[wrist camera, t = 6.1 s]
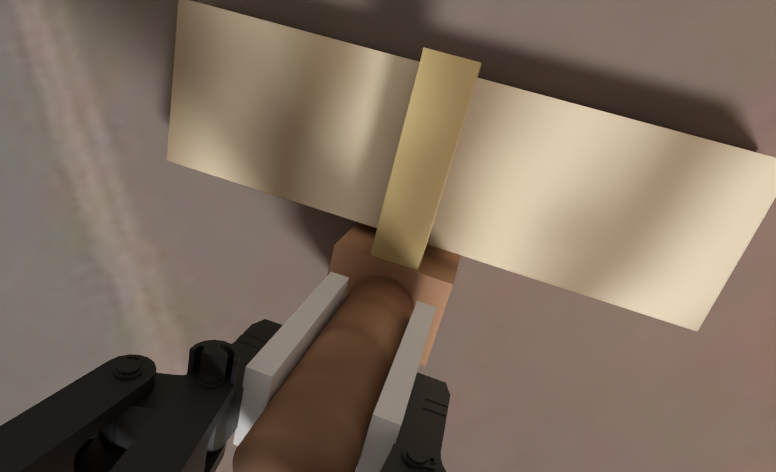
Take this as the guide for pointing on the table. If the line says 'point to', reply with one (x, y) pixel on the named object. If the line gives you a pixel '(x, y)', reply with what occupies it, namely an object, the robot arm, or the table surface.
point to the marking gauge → (372, 293)
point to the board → (471, 164)
